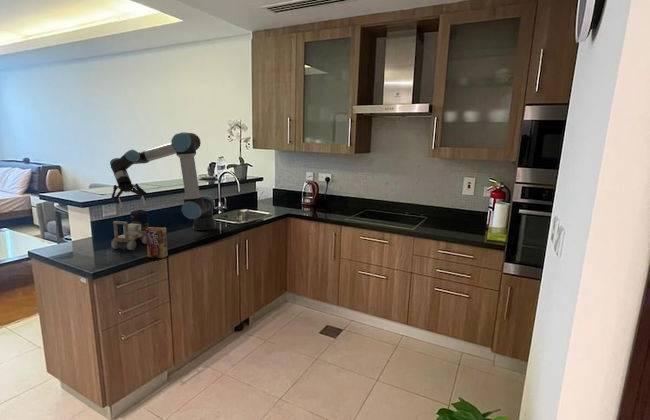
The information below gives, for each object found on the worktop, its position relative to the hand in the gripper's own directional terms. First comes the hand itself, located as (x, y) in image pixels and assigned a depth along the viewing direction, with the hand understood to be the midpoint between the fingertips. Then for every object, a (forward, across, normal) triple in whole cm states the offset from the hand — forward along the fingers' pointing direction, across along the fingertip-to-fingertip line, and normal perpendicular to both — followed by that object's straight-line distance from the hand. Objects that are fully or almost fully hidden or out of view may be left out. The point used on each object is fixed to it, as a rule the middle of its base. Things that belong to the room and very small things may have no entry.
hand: (133, 206), depth 212 cm
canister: (+20, 0, -7) cm, 21 cm away
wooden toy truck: (+28, +10, +1) cm, 30 cm away
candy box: (+47, +6, +20) cm, 51 cm away
